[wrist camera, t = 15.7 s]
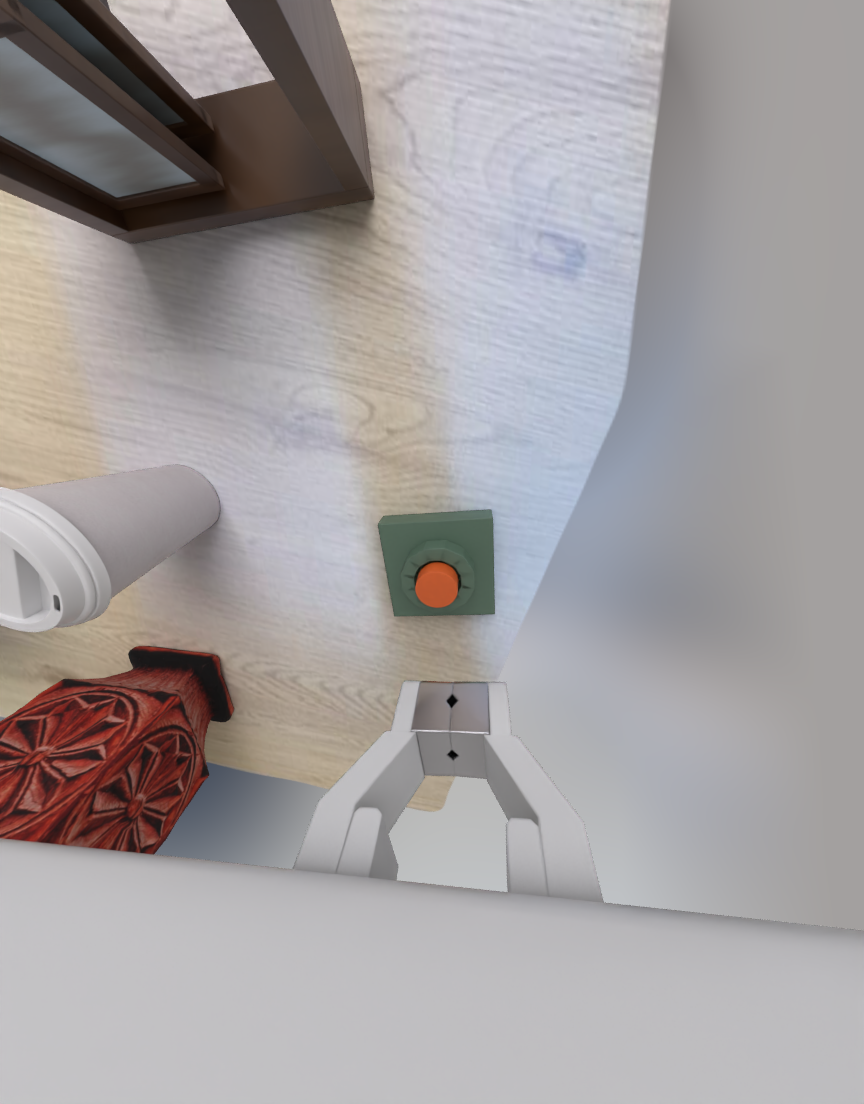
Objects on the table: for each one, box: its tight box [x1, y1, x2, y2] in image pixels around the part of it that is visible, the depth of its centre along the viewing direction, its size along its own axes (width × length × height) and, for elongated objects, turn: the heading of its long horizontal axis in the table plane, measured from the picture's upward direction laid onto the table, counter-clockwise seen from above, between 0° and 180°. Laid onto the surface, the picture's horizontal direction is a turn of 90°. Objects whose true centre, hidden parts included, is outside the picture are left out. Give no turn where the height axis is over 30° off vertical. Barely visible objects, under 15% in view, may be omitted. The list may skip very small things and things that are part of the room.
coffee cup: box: [0, 465, 220, 632], centre depth 26 cm, size 10×10×15 cm
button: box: [415, 562, 458, 608], centre depth 29 cm, size 4×4×2 cm
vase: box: [0, 646, 234, 855], centre depth 31 cm, size 14×14×30 cm
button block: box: [378, 510, 495, 616], centre depth 31 cm, size 10×10×4 cm
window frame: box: [0, 0, 374, 244], centre depth 15 cm, size 18×5×16 cm, turn 96°
